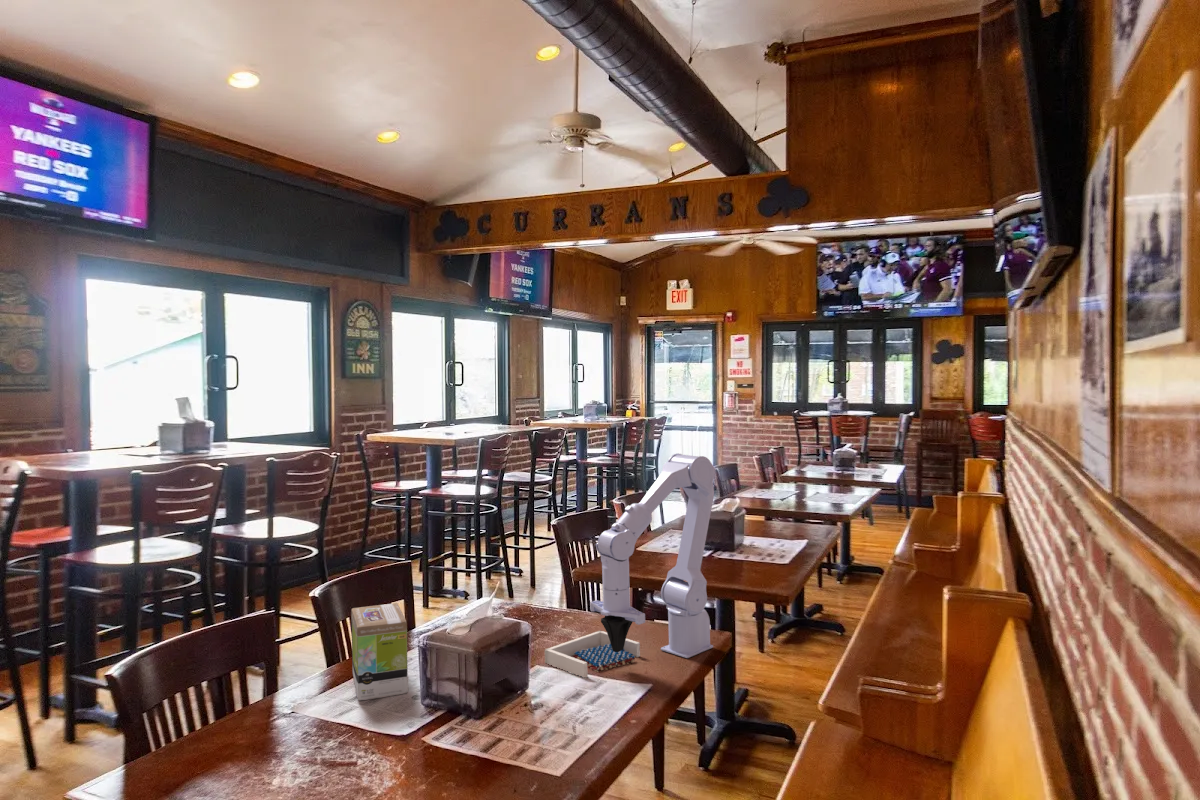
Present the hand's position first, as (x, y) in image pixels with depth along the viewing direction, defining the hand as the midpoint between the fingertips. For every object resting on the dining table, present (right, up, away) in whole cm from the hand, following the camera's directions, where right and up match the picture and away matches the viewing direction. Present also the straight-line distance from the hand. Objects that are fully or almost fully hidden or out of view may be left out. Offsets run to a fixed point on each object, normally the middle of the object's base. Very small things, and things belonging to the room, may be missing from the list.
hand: (618, 650), depth 166 cm
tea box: (-49, -6, -5) cm, 50 cm away
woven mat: (-3, -5, +5) cm, 8 cm away
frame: (-5, -4, +6) cm, 9 cm away
